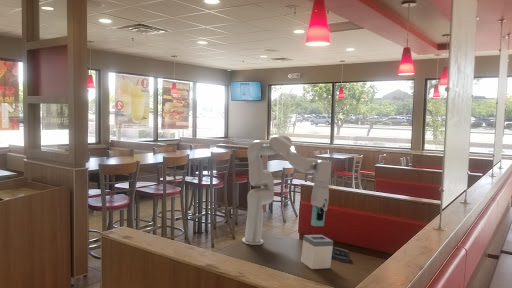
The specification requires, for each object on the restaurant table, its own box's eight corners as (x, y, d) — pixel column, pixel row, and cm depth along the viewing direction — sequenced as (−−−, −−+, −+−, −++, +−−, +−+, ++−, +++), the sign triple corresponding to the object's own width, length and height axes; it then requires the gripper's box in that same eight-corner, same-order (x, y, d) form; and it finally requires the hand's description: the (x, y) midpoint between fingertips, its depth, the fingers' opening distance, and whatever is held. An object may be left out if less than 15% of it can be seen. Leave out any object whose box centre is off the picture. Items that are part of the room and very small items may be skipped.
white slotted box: (300, 261, 208) (303, 235, 208) (318, 260, 213) (321, 234, 212) (311, 269, 198) (314, 241, 198) (330, 268, 203) (333, 241, 202)
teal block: (310, 224, 205) (312, 205, 204) (320, 224, 207) (322, 205, 207) (313, 226, 202) (315, 206, 202) (323, 226, 205) (325, 206, 204)
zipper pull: (313, 236, 235) (353, 247, 220) (312, 247, 235) (352, 259, 220) (306, 239, 227) (347, 251, 213) (305, 250, 228) (345, 263, 213)
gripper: (307, 181, 210) (303, 215, 211) (324, 187, 195) (320, 223, 196) (319, 182, 213) (315, 215, 214) (336, 187, 198) (333, 223, 199)
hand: (318, 219), depth 205 cm, fingers closed on teal block, 3 cm apart
